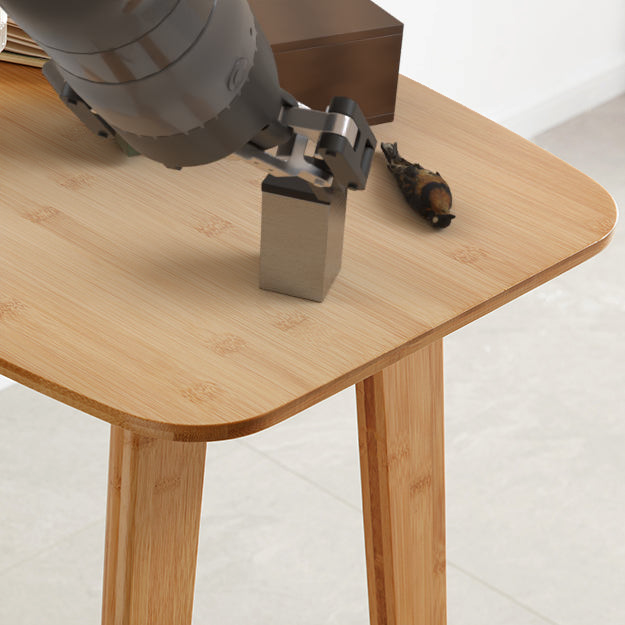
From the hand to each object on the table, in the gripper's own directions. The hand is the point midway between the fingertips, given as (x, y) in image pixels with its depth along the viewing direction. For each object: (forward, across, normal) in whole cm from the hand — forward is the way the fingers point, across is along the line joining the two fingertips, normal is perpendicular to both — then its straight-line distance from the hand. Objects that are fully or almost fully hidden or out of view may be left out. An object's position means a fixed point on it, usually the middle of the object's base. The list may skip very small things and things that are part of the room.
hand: (254, 167), depth 60 cm
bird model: (+27, -4, -7) cm, 28 cm away
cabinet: (+34, +9, -15) cm, 38 cm away
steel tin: (+17, 0, +2) cm, 17 cm away
